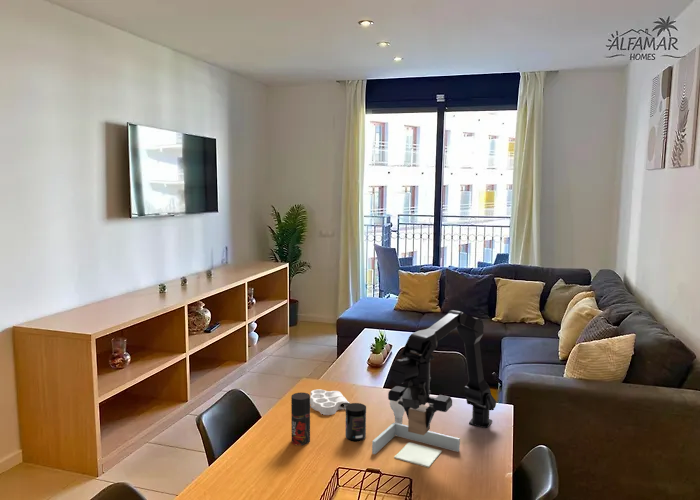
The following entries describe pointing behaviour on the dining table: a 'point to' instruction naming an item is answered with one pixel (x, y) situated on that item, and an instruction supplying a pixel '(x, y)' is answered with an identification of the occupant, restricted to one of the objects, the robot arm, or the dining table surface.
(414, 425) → the walnut block
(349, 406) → the supplement container
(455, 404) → the dining table surface
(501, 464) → the dining table surface
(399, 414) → the lightbulb
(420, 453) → the plate
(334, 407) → the white egg tray
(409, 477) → the dining table surface
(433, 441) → the plastic wall
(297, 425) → the deodorant
